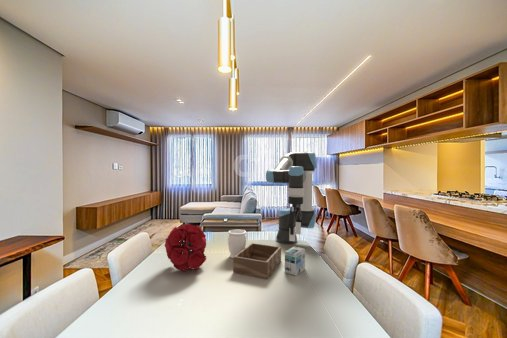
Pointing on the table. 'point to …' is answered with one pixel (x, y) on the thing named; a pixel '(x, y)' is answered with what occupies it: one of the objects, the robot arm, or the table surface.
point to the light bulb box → (294, 260)
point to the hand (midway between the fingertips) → (295, 237)
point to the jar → (236, 241)
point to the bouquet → (186, 247)
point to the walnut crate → (257, 260)
